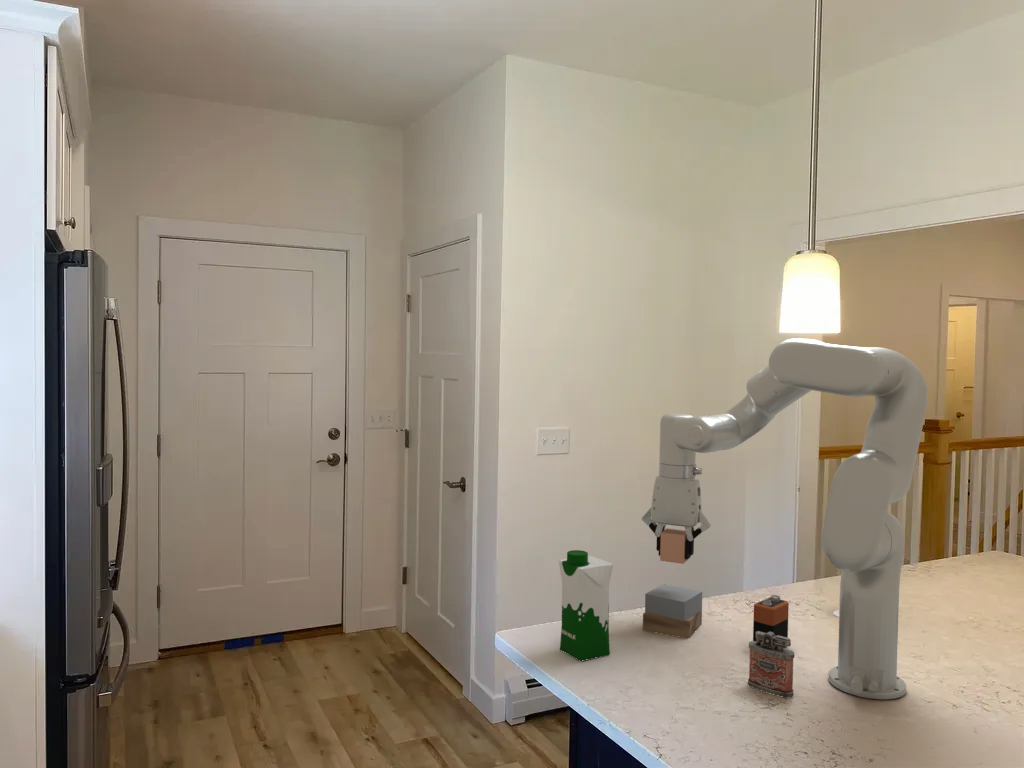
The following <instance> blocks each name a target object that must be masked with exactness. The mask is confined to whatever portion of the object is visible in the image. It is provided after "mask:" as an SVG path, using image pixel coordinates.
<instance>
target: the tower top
mask: <svg viewBox="0 0 1024 768" xmlns="http://www.w3.org/2000/svg"><path fill="white" fill-rule="evenodd" d="M644 594H645V595H644V597H645V598H644V613H645V612H646V613H650V614H655V615H659V616H663V617H668V618H672V619H677V620H681V621H686V620H687V619H689V618H690V617H692V616H693V615H695V614H696V613H698V612H700V611H701V610H702V611H703V591H702V590H695V589H691V588H685V587H682V586H676V585H671V584H666V583H664V584H661V585H659V586H657V587H656V588H654V589H652V590H650V591H647V592H646V593H644Z"/></svg>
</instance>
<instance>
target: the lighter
mask: <svg viewBox="0 0 1024 768" xmlns="http://www.w3.org/2000/svg"><path fill="white" fill-rule="evenodd" d="M761 641H762V642H761ZM791 643H792V640H791V639H790V638H789V637H788V638H787V637H783V636H779V635H778V636H775V634H774V633H773V632H768V633H764V632H760V631H757V632H756V641H753V640H751V641H748V649H749V659H748V660H749V665H748V669H749V670H748V673H749V674H748V679H747V686H748V685H749V686H748V687H750V686H751V687H750V688H752V687H753V688H752V689H754V688H756V689H758V690H757V691H759V690H762V691H764V692H763V693H765V692H767V693H766V694H768V693H771V694H770V695H772V694H774V695H773V696H775V695H779V696H783V697H782V698H784V697H792V696H793V695H794V689H793V687H794V686H793V684H794V682H793V681H794V659H795V651H793V650H791V649H788V648H789V647H791ZM778 644H779V645H778ZM783 646H785V647H783ZM786 647H787V648H786ZM756 689H755V690H756ZM762 691H761V692H762ZM779 696H778V697H779ZM793 697H794V696H793ZM793 697H792V698H793Z"/></svg>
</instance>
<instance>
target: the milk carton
mask: <svg viewBox="0 0 1024 768" xmlns="http://www.w3.org/2000/svg"><path fill="white" fill-rule="evenodd" d="M558 564H559V565H558V566H559V571H560V577H561V629H560V644H559V650H560V651H561V650H562V652H563V651H564V653H565V652H566V653H565V654H567V653H568V654H569V655H568V654H567V655H568V656H570V655H571V656H570V657H572V656H573V657H575V658H577V659H578V660H577V659H576V660H577V661H579V660H580V661H581V662H583V661H582V660H585V661H587V660H586V659H590V660H592V659H591V658H594V659H596V658H595V657H598V658H601V657H600V656H602V657H605V656H604V655H606V656H609V654H611V651H610V649H611V648H610V631H609V627H610V626H609V625H610V624H609V622H610V620H609V619H610V618H609V615H610V614H609V613H610V612H609V611H610V610H609V609H610V607H609V606H610V581H611V576H612V571H613V567H614V564H613V563H611V562H608V561H605V560H604V559H600V558H598V557H595V556H593V555H589V553H588V551H585V550H581V549H580V550H578V549H575V550H568V551H567V553H566V558H563V559H558ZM573 657H572V658H573ZM575 658H574V659H575ZM580 661H579V662H580Z"/></svg>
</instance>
